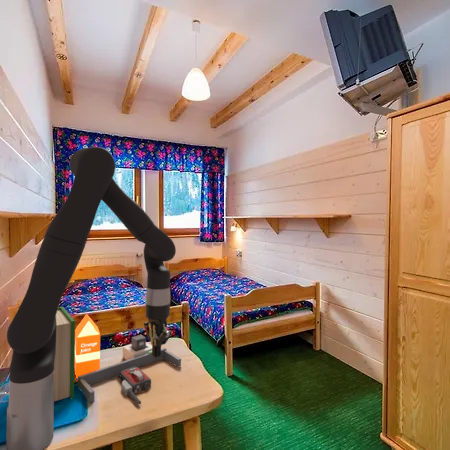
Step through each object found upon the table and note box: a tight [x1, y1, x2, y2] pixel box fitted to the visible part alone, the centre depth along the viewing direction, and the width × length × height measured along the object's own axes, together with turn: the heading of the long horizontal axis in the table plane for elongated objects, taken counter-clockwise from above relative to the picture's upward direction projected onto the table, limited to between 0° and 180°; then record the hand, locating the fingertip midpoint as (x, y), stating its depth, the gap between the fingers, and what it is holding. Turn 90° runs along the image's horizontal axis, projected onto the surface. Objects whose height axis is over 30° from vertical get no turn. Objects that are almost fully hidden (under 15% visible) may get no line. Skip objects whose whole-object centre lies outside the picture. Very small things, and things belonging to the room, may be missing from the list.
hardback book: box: [54, 306, 76, 402], centre depth 95 cm, size 18×7×24 cm, turn 39°
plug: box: [131, 334, 147, 351], centre depth 118 cm, size 4×4×8 cm
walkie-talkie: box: [117, 366, 152, 405], centre depth 98 cm, size 9×4×20 cm
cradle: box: [77, 347, 182, 404], centre depth 105 cm, size 33×11×4 cm, turn 134°
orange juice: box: [74, 313, 101, 379], centre depth 106 cm, size 8×9×20 cm
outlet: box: [122, 341, 152, 361], centre depth 118 cm, size 9×9×4 cm
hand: (156, 356), depth 93 cm, fingers closed
